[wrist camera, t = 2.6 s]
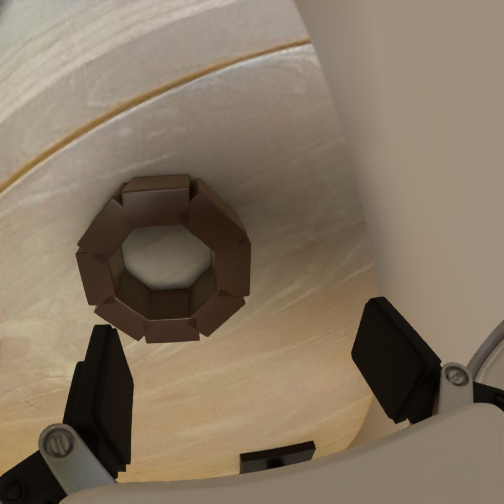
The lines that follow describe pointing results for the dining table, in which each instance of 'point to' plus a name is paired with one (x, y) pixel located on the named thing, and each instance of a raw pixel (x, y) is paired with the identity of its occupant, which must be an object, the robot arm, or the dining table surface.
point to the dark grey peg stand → (276, 457)
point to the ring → (170, 301)
